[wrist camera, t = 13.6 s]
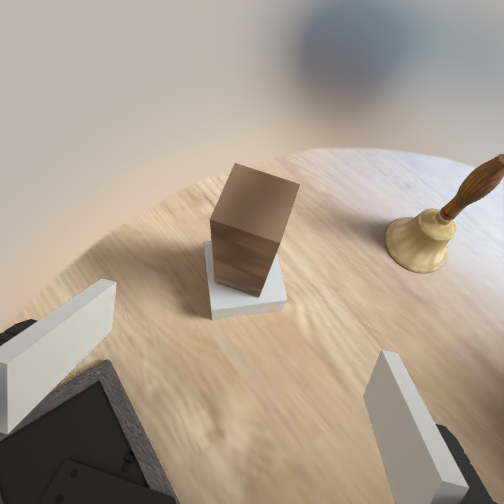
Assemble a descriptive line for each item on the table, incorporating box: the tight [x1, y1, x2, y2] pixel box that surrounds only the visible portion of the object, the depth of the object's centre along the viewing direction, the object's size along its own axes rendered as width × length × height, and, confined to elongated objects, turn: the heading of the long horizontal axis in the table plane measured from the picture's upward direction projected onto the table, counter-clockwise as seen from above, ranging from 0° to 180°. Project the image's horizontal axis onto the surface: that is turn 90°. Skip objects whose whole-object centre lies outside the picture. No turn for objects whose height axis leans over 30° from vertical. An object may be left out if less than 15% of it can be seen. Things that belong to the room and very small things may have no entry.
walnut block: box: [210, 163, 300, 297], centre depth 30 cm, size 5×5×14 cm
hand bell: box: [385, 154, 504, 273], centre depth 37 cm, size 8×8×16 cm
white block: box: [204, 241, 287, 320], centre depth 38 cm, size 8×8×4 cm
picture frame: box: [0, 359, 180, 504], centre depth 29 cm, size 13×2×18 cm
